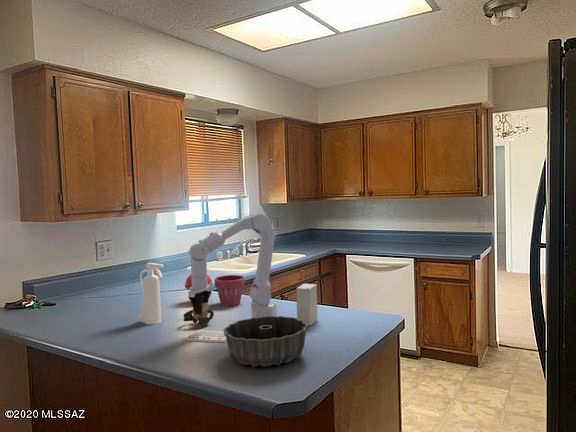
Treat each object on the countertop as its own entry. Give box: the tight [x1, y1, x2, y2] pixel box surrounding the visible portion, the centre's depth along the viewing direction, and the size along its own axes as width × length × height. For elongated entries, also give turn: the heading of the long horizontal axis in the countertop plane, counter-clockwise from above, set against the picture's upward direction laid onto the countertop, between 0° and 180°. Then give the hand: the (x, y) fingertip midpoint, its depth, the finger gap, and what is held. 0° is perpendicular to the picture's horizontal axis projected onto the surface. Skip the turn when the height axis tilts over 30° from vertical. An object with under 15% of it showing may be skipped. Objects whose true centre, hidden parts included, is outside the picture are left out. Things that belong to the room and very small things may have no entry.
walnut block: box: [192, 302, 209, 318], centre depth 166 cm, size 4×4×5 cm
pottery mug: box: [183, 309, 215, 330], centre depth 180 cm, size 12×10×8 cm
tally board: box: [185, 329, 227, 344], centre depth 164 cm, size 15×10×1 cm, turn 76°
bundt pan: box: [223, 315, 309, 368], centre depth 141 cm, size 26×26×10 cm
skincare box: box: [296, 283, 319, 327], centre depth 177 cm, size 8×6×15 cm
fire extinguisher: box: [137, 262, 165, 325], centre depth 186 cm, size 7×12×25 cm, turn 72°
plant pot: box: [214, 274, 246, 307], centre depth 213 cm, size 14×14×13 cm
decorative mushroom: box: [184, 274, 214, 291], centre depth 219 cm, size 13×13×15 cm
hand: (200, 312), depth 166 cm, fingers closed on walnut block, 4 cm apart
